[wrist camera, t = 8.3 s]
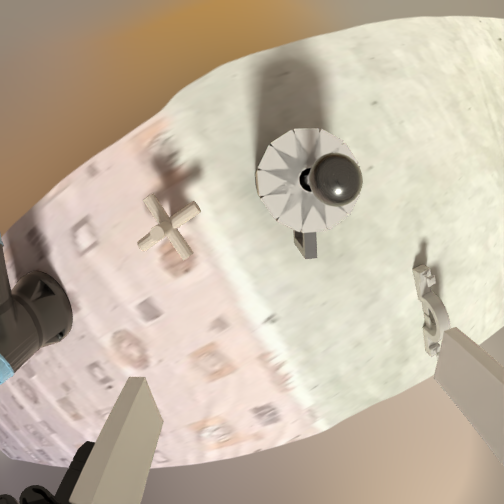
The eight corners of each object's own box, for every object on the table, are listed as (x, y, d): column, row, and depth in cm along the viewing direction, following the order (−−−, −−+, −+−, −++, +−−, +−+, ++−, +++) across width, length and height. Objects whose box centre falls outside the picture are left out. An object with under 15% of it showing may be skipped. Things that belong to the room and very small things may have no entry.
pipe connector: (185, 176, 42) (166, 175, 33) (221, 230, 44) (213, 244, 35) (135, 213, 44) (107, 222, 34) (170, 265, 46) (150, 286, 36)
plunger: (269, 210, 41) (289, 243, 19) (264, 153, 39) (279, 122, 18) (324, 206, 41) (396, 234, 19) (320, 150, 39) (390, 123, 17)
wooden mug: (260, 242, 45) (264, 269, 31) (252, 146, 41) (253, 130, 28) (330, 236, 45) (362, 259, 31) (324, 143, 41) (356, 127, 28)
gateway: (410, 268, 47) (434, 282, 39) (420, 263, 46) (445, 276, 39) (424, 349, 51) (442, 369, 43) (432, 344, 51) (451, 363, 43)
